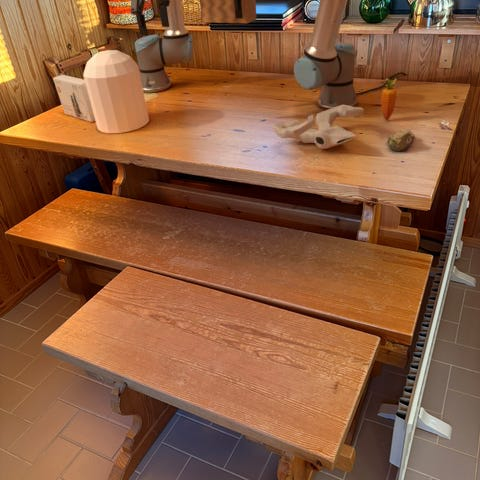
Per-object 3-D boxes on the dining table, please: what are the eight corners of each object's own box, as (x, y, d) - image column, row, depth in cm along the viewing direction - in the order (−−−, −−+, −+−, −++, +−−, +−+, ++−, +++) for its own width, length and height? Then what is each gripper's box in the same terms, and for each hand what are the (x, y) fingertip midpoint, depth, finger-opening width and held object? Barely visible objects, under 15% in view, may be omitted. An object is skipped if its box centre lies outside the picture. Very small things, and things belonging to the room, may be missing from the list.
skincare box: (63, 114, 202) (52, 77, 193) (74, 110, 205) (63, 74, 196) (91, 122, 190) (80, 83, 181) (101, 118, 193) (91, 80, 184)
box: (202, 22, 188) (198, -9, 182) (212, 18, 193) (208, -12, 187) (247, 23, 178) (245, -10, 172) (256, 19, 183) (254, -13, 177)
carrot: (394, 118, 167) (398, 76, 158) (393, 123, 163) (397, 80, 154) (379, 117, 168) (383, 75, 160) (378, 122, 165) (382, 80, 156)
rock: (408, 140, 153) (379, 139, 152) (414, 122, 149) (384, 120, 148) (421, 154, 144) (391, 153, 143) (428, 135, 140) (396, 133, 139)
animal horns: (271, 156, 148) (270, 121, 142) (282, 128, 169) (280, 95, 163) (362, 157, 142) (365, 119, 136) (361, 127, 163) (363, 93, 157)
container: (103, 137, 175) (82, 61, 159) (92, 121, 191) (73, 50, 175) (155, 125, 181) (141, 50, 166) (141, 110, 198) (127, 41, 182)
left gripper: (129, -35, 142) (143, 38, 154) (173, -43, 160) (182, 23, 172) (110, -34, 145) (125, 38, 157) (155, -42, 163) (165, 23, 175)
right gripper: (233, -51, 160) (239, 21, 173) (261, -56, 174) (265, 11, 187) (215, -50, 163) (222, 21, 176) (244, -55, 177) (249, 11, 190)
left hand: (155, 30), depth 164 cm, fingers open, 13 cm apart
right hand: (244, 16), depth 181 cm, fingers closed on box, 7 cm apart
